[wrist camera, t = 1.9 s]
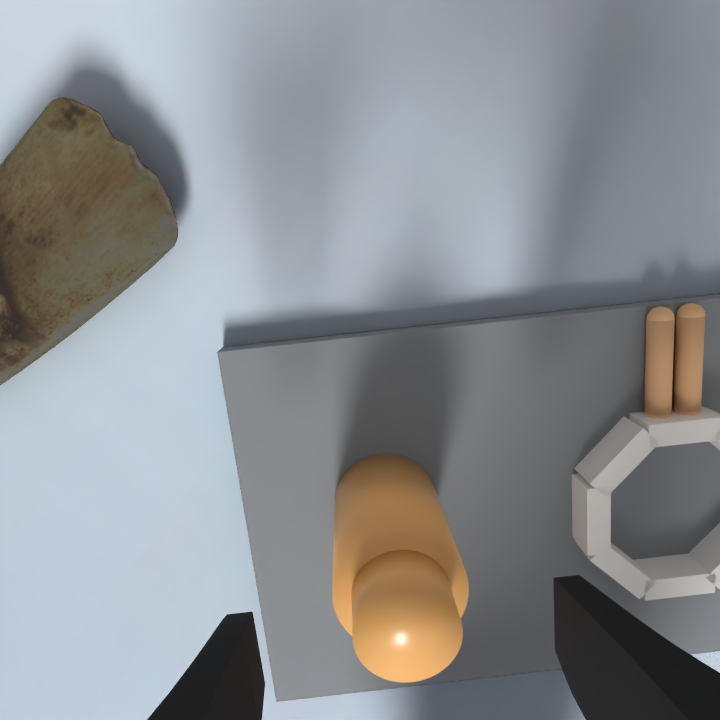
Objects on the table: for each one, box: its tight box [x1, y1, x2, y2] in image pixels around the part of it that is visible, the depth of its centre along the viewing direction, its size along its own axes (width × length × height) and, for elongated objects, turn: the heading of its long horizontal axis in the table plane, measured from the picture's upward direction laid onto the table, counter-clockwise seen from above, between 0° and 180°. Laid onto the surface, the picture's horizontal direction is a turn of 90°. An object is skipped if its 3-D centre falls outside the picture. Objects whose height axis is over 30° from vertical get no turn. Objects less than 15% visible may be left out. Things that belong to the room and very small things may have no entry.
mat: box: [218, 294, 720, 702], centre depth 19 cm, size 14×20×2 cm
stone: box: [0, 98, 178, 385], centre depth 17 cm, size 13×5×2 cm, turn 134°
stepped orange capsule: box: [332, 454, 469, 683], centre depth 15 cm, size 4×4×6 cm
